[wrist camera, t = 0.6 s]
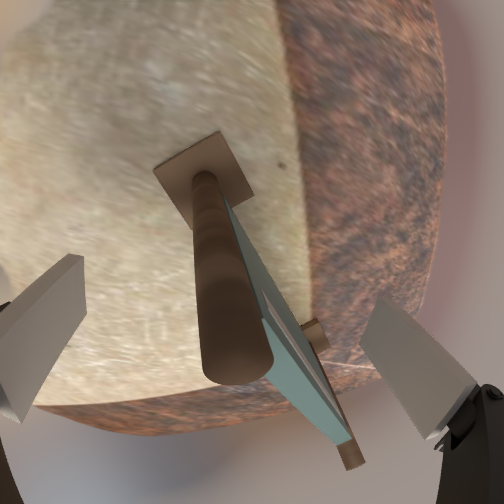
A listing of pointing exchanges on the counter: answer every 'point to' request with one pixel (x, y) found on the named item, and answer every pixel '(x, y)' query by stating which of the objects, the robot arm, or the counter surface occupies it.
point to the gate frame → (228, 272)
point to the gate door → (289, 347)
